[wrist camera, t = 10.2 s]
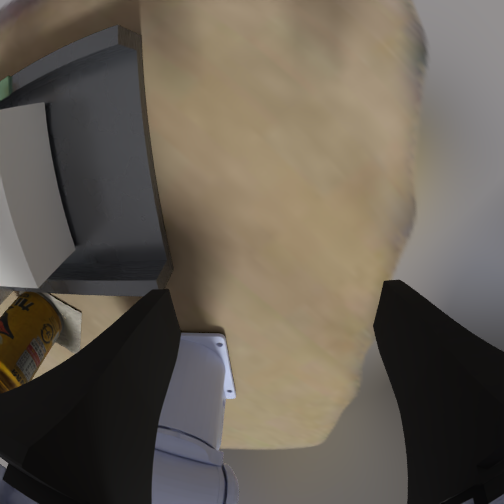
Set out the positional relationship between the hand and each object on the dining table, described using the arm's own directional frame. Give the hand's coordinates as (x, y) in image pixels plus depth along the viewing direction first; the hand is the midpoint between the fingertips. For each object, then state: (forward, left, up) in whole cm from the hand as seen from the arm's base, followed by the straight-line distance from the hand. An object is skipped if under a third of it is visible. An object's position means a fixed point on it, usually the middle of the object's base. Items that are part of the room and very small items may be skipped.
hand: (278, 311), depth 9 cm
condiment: (-10, +23, -10) cm, 27 cm away
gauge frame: (+4, +16, -9) cm, 19 cm away
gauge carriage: (+5, +17, -8) cm, 20 cm away
